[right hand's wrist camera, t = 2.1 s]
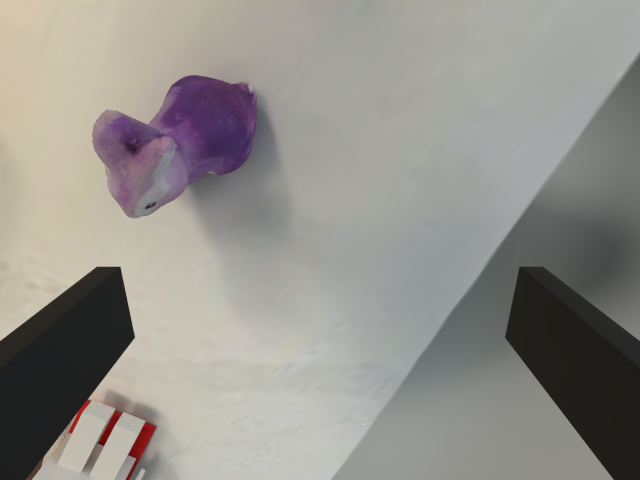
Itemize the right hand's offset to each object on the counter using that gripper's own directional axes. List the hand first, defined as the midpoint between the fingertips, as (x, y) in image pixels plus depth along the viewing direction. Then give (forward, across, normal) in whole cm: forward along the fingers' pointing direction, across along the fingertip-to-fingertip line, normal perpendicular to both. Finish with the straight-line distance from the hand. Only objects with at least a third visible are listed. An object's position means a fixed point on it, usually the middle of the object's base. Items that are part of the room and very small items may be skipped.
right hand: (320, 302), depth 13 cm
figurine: (+26, -10, +3) cm, 28 cm away
